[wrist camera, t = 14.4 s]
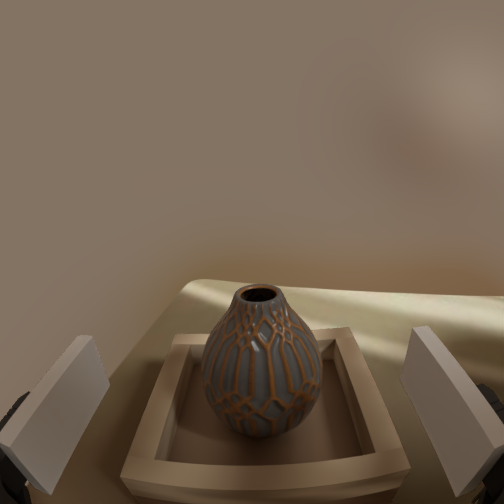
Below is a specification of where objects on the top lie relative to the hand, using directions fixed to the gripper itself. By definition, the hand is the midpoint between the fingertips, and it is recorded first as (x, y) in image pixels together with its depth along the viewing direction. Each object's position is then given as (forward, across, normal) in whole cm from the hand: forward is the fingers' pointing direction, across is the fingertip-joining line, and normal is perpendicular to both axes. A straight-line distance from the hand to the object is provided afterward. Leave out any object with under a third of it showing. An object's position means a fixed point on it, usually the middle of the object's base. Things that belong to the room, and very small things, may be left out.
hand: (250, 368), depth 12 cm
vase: (+4, 0, -8) cm, 9 cm away
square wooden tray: (+4, 0, -11) cm, 12 cm away
